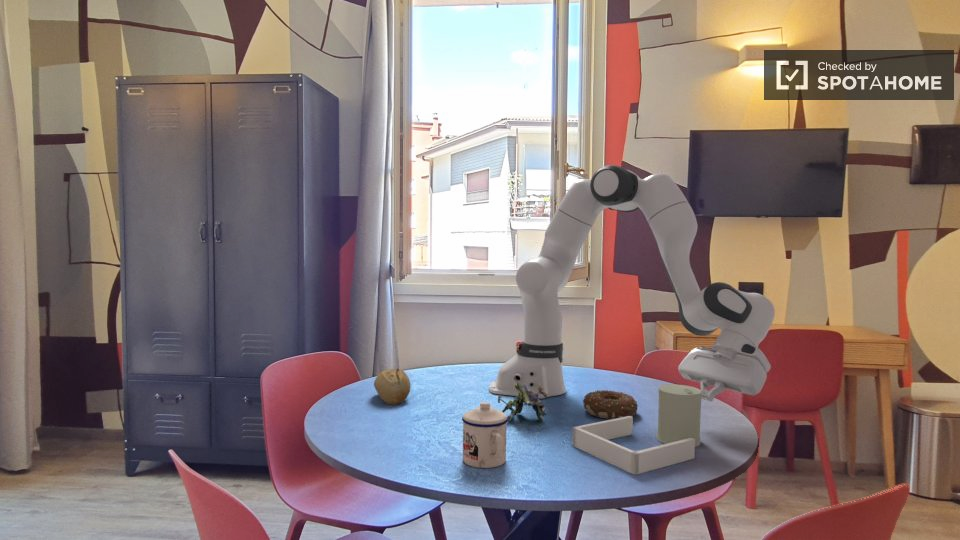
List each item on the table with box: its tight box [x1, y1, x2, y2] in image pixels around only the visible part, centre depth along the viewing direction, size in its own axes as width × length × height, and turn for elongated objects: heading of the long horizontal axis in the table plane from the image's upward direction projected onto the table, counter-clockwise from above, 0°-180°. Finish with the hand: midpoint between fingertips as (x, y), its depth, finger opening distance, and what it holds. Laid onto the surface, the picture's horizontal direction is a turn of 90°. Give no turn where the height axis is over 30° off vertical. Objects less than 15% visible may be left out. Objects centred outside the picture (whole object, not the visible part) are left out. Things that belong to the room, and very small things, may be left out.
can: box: [656, 383, 702, 448], centre depth 130 cm, size 9×9×12 cm
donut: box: [582, 389, 638, 420], centre depth 149 cm, size 14×14×5 cm
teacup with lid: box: [461, 401, 509, 469], centre depth 115 cm, size 12×9×12 cm
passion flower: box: [497, 382, 548, 423], centre depth 142 cm, size 11×11×12 cm
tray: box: [571, 416, 696, 476], centre depth 122 cm, size 17×18×4 cm
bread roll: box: [373, 368, 411, 406], centre depth 160 cm, size 10×15×8 cm, turn 21°
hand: (704, 398), depth 134 cm, fingers closed
